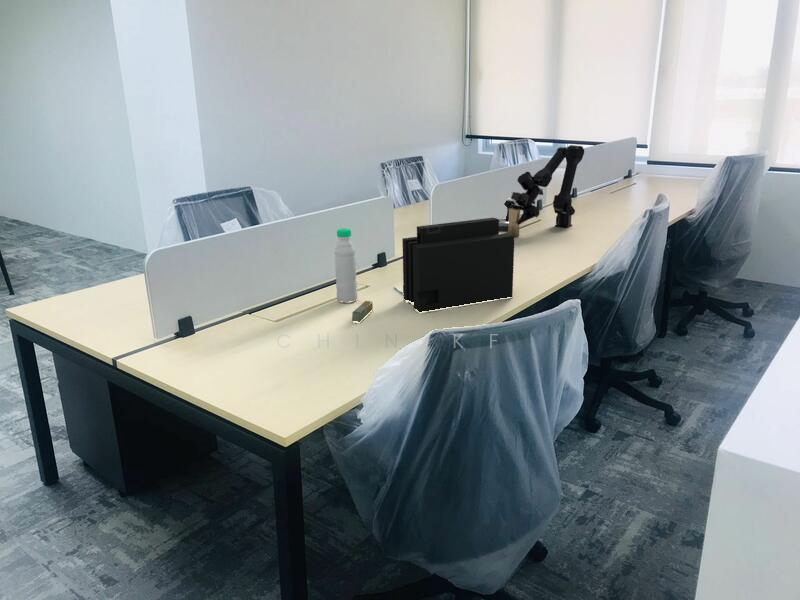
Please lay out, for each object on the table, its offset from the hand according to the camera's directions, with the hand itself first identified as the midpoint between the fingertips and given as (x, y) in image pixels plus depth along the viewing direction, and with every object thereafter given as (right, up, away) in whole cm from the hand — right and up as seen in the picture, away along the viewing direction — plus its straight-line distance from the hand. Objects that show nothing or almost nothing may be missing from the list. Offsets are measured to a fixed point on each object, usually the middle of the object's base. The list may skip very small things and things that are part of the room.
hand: (511, 222), depth 311 cm
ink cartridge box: (+6, +5, +36) cm, 37 cm away
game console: (-36, -34, -75) cm, 90 cm away
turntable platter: (0, +1, +19) cm, 19 cm away
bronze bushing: (+1, -6, +3) cm, 7 cm away
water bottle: (-70, -36, -81) cm, 113 cm away
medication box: (-64, -42, -97) cm, 123 cm away
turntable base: (0, 0, +20) cm, 20 cm away
